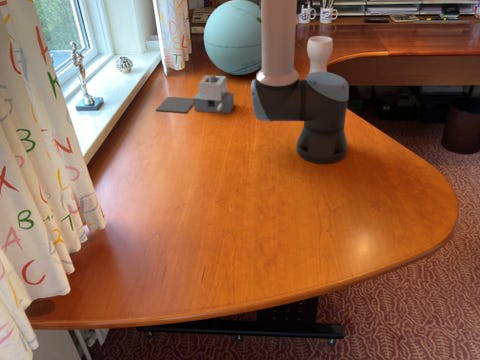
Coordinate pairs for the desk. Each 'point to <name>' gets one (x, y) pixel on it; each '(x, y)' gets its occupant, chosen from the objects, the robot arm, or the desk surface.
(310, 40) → the cup
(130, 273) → the desk surface
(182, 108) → the mat
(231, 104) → the vise
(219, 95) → the collar
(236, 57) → the globe
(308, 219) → the desk surface
